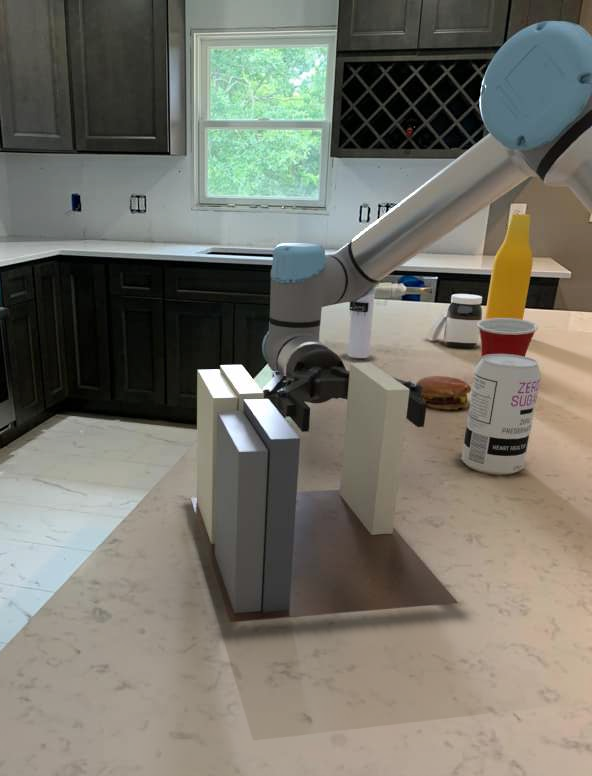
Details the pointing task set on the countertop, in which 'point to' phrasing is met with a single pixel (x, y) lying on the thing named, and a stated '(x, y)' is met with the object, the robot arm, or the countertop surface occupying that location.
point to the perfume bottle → (361, 326)
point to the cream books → (216, 396)
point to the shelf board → (342, 565)
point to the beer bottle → (511, 272)
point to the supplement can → (501, 413)
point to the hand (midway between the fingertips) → (365, 417)
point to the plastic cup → (505, 336)
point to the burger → (444, 392)
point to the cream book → (373, 446)
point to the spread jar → (459, 322)
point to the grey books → (256, 505)
